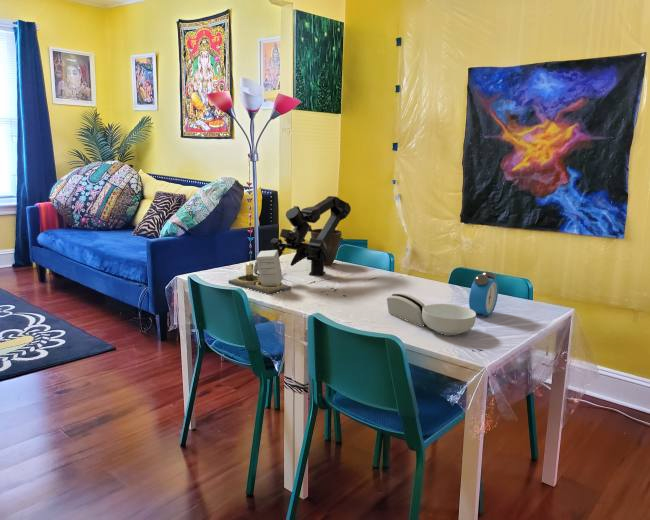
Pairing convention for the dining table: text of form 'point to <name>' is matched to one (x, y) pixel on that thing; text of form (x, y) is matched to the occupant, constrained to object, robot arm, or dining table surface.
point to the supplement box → (269, 268)
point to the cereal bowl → (448, 318)
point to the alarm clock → (483, 294)
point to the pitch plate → (256, 282)
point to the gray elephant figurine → (256, 267)
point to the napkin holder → (406, 307)
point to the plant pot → (329, 244)
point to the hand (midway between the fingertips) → (282, 263)
